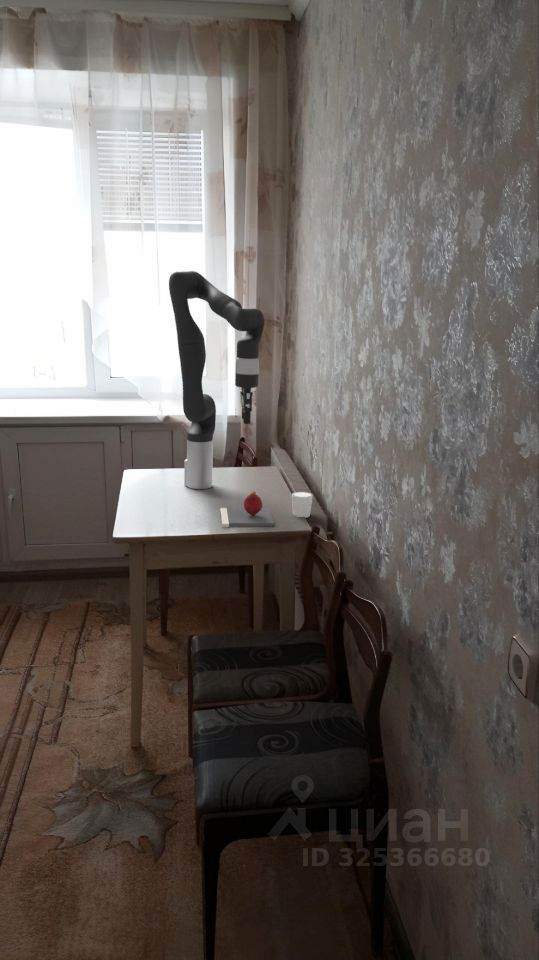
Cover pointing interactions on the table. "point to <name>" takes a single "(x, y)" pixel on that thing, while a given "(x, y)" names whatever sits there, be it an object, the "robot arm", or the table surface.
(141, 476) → the table surface
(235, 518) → the mat
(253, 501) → the onion
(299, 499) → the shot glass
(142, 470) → the table surface
